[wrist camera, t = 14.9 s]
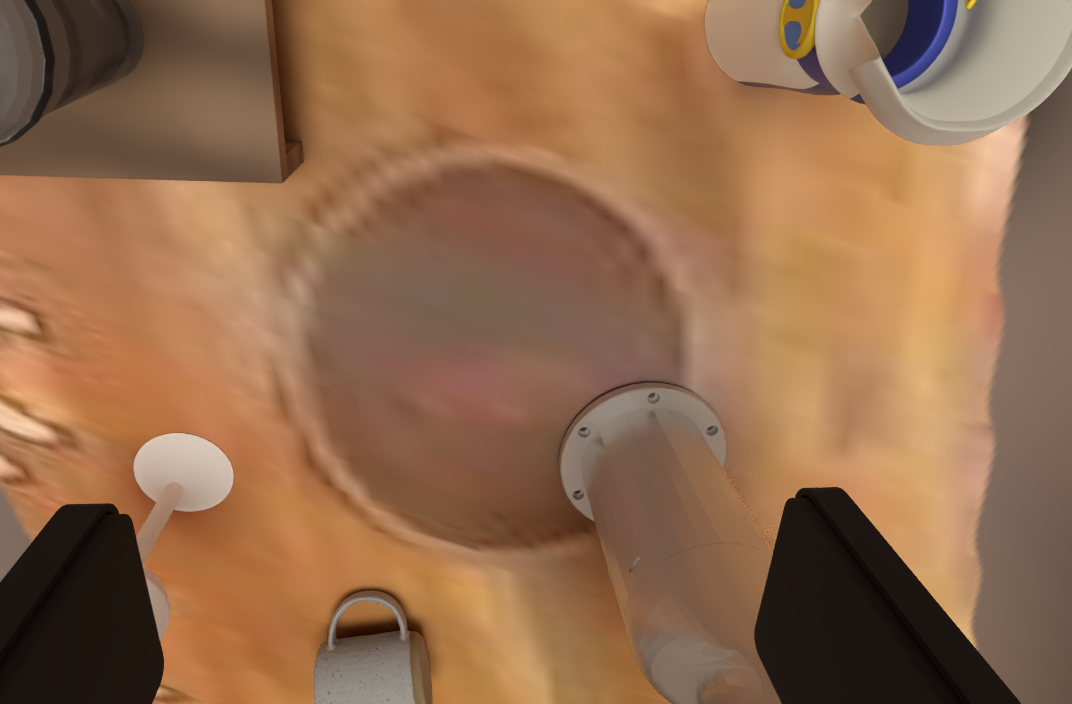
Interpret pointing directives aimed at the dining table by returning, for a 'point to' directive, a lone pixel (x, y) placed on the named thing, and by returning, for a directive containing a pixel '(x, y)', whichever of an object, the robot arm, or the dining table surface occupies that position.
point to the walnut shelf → (176, 105)
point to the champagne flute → (176, 495)
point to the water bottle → (902, 57)
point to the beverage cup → (61, 55)
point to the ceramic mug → (373, 663)
